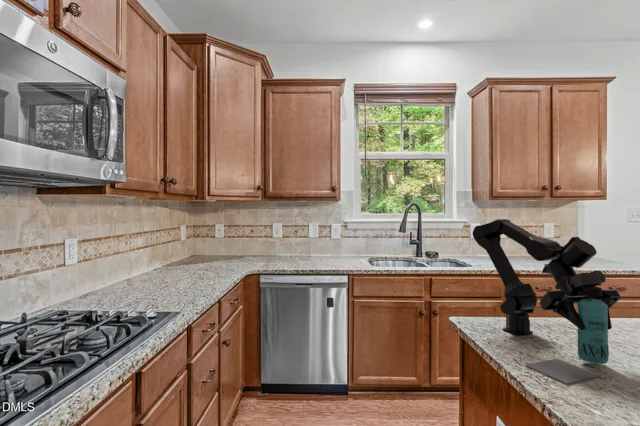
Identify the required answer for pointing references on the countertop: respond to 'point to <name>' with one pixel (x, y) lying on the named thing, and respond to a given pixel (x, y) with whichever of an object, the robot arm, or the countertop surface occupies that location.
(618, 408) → the countertop surface
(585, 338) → the beverage bottle
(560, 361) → the mat
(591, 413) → the countertop surface
